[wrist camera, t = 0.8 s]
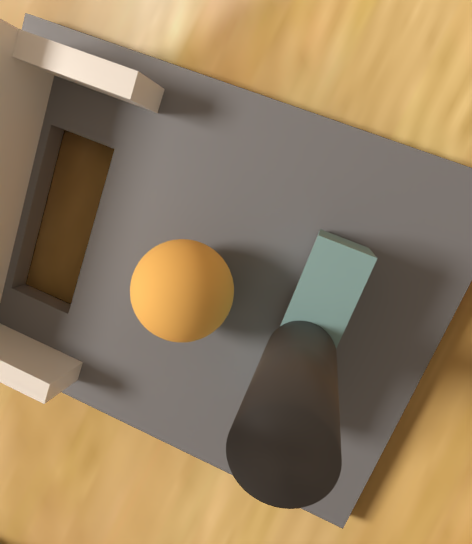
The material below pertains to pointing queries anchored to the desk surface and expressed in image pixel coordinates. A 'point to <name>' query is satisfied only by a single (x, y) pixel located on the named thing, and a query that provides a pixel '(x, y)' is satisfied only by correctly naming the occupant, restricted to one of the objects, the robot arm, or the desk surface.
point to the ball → (181, 290)
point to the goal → (18, 165)
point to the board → (242, 254)
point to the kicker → (300, 385)
